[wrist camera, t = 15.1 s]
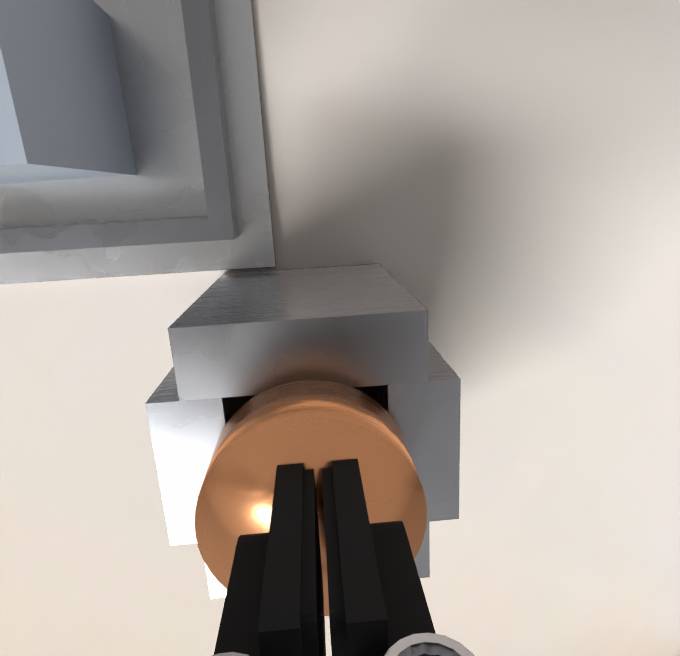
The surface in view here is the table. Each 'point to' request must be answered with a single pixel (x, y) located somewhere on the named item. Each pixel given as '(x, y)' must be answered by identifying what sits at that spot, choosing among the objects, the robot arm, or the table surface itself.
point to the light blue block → (60, 94)
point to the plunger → (315, 453)
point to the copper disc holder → (303, 376)
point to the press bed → (160, 159)
